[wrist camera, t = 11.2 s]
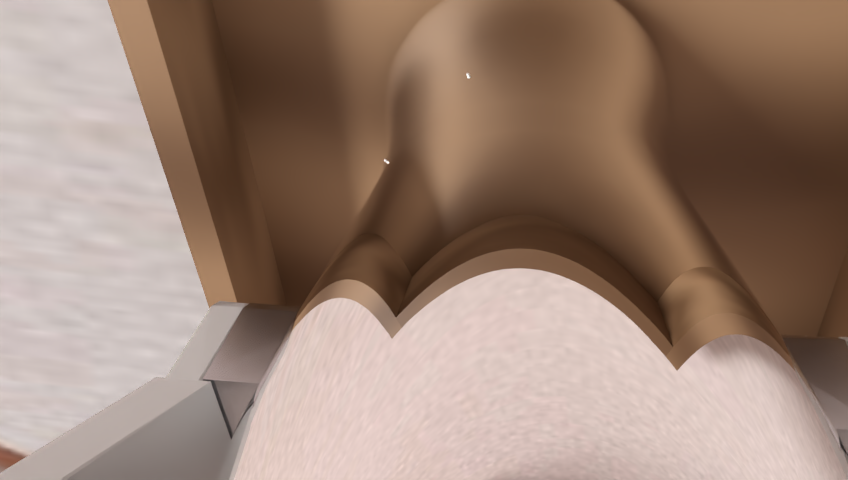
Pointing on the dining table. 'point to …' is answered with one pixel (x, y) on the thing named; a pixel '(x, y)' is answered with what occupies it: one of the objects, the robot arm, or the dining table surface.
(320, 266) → the walnut tray
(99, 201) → the dining table surface
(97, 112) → the dining table surface
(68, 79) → the dining table surface
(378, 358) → the beer glass
